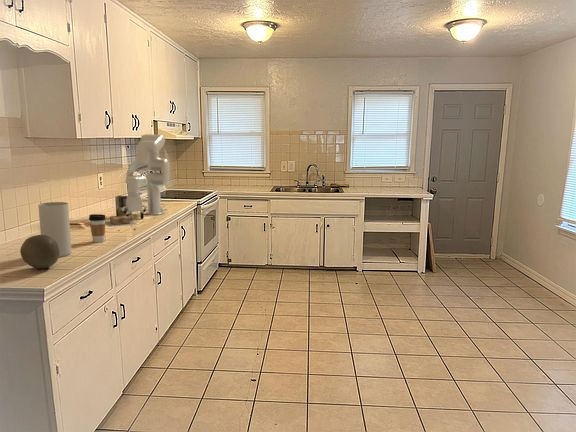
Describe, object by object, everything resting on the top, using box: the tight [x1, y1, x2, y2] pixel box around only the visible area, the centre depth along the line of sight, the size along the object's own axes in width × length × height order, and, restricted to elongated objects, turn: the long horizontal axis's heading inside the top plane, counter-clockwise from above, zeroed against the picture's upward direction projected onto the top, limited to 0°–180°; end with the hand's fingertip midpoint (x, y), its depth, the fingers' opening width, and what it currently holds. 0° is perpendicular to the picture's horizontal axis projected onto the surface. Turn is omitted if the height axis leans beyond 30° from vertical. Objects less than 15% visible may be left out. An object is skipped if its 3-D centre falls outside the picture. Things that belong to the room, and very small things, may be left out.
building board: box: [105, 219, 137, 228], centre depth 275 cm, size 17×17×2 cm
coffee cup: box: [88, 213, 107, 244], centre depth 231 cm, size 8×8×15 cm
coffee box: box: [114, 195, 133, 217], centre depth 298 cm, size 9×6×16 cm
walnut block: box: [109, 215, 131, 225], centre depth 275 cm, size 10×10×4 cm
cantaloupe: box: [19, 234, 60, 270], centre depth 180 cm, size 14×14×15 cm
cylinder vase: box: [37, 201, 72, 258], centre depth 202 cm, size 12×12×25 cm
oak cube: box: [130, 213, 141, 221], centre depth 289 cm, size 5×5×5 cm
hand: (134, 219), depth 289 cm, fingers open, 9 cm apart
